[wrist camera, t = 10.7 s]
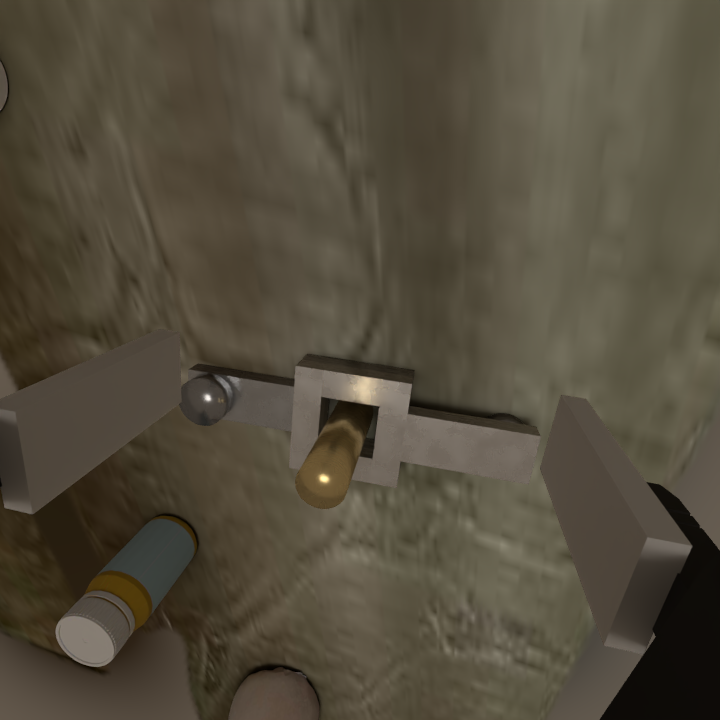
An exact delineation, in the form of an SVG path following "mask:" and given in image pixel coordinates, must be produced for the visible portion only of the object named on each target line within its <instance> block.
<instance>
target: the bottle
mask: <svg viewBox="0 0 720 720" xmlns="http://www.w3.org/2000/svg"><path fill="white" fill-rule="evenodd" d="M196 549H197V542H196V538H195V535H194V533H193V531H192V529H191V528H190V527H189V525H188V524H187V523H185V522H184V521H182V520H181V519H179V518H176V517H173V516H159V517H155V518H153V519H152V520H150V521H149V522H148V523H147V524H146V525H145V526H144V527H143V528H142V529H141V530H140V531H139V532H138V533H137V534H136V535H135V536H134V537H133V538H132V540H131V541H130V542H129V543H128V544H127V545H126V546H125V547H124V548H123V549H122V550H121V551H120V552H119V553H118V554H117V555H116V556H115V557H114V558H113V559H112V560H111V561H110V562H109V563H108V564H107V565H106V566H105V567H104V568H103V569H102V571H101V572H100V573H99V574H98V575H97V576H96V577H95V578H94V579H93V580H92V581H91V583H90V585H89V586H88V588H87V591H86V593H85V595H84V596H83V597H82V598H81V599H80V600H79V601H78V602H77V603H76V604H75V605H74V606H73V607H72V608H71V609H70V610H69V611H68V612H67V613H66V614H65V615H64V616H63V617H62V618H61V620H60V621H59V623H58V624H57V627H56V637H57V640H58V642H59V644H60V646H61V647H62V649H63V650H64V651H65V652H66V653H67V654H68V655H69V656H70V657H71V658H73V659H74V660H76V661H78V662H79V663H82V664H84V665H88V666H93V667H99V666H103V665H106V664H108V663H109V662H110V661H111V660H112V659H113V658H114V657H115V655H116V654H117V653H118V652H119V650H120V649H121V647H122V646H123V645H124V643H125V642H126V640H127V639H128V638H129V636H130V635H131V634H132V633H133V631H135V630H136V629H137V628H139V627H140V626H142V625H143V624H144V623H145V622H146V620H147V619H148V618H149V617H150V615H151V614H152V613H153V611H154V610H155V608H156V607H157V606H158V604H159V603H160V602H161V600H162V599H163V598H164V596H165V595H166V594H167V592H168V591H169V589H170V588H171V587H172V585H173V584H174V583H175V581H176V580H177V579H178V577H179V576H180V574H181V573H182V572H183V570H184V569H185V568H186V566H187V565H188V564H189V562H190V561H191V559H192V558H193V556H194V555H195V553H196Z"/></svg>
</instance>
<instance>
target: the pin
mask: <svg viewBox="0 0 720 720" xmlns="http://www.w3.org/2000/svg"><path fill="white" fill-rule="evenodd" d="M372 418H373V408H372V405H368V404H362V403H356V402H350V401H344V400H339V401H338V403H337V405H336V406H335V408H334V410H333V412H332V414H331V415H330V417H329V419H328V421H327V422H326V424H325V426H324V428H323V429H322V431H321V433H320V435H319V436H318V438H317V440H316V442H315V443H314V445H313V447H312V449H311V451H310V452H309V454H308V456H307V458H306V459H305V461H304V463H303V465H302V466H301V468H300V470H299V472H298V474H297V476H296V480H295V485H296V489H297V492H298V494H299V496H300V497H301V498H302V499H303V500H304V501H305V502H306V503H308V504H309V505H311V506H313V507H316V508H320V509H329V508H333V507H335V506H337V505H339V504H340V503H341V502H342V501H343V500H344V498H345V496H346V493H347V490H348V487H349V484H350V481H351V479H352V476H353V473H354V470H355V467H356V464H357V461H358V458H359V456H360V453H361V450H362V447H363V444H364V441H365V438H366V435H367V433H368V430H369V427H370V424H371V421H372Z"/></svg>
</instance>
